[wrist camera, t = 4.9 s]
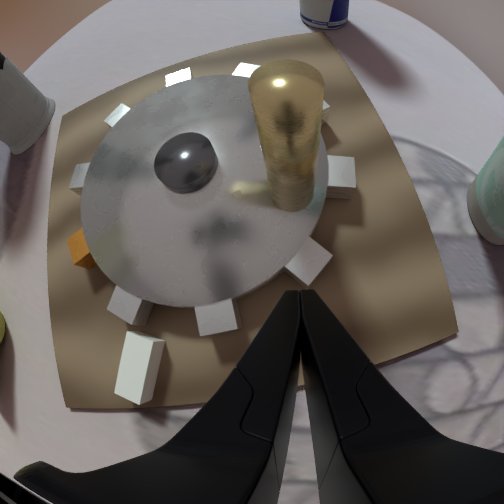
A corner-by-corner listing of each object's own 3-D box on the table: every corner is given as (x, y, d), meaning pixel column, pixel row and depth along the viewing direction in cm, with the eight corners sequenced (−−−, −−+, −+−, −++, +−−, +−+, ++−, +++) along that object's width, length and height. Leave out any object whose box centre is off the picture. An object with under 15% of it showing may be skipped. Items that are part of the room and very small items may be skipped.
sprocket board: (455, 331, 16) (458, 331, 16) (69, 406, 19) (66, 407, 18) (323, 34, 24) (323, 31, 24) (64, 117, 27) (62, 115, 26)
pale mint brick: (151, 399, 18) (139, 405, 16) (127, 388, 18) (114, 392, 16) (165, 340, 19) (153, 341, 17) (140, 331, 19) (126, 331, 17)
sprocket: (389, 289, 17) (491, 242, 7) (92, 353, 19) (-31, 355, 8) (295, 57, 23) (287, -44, 12) (87, 125, 25) (24, 57, 14)
